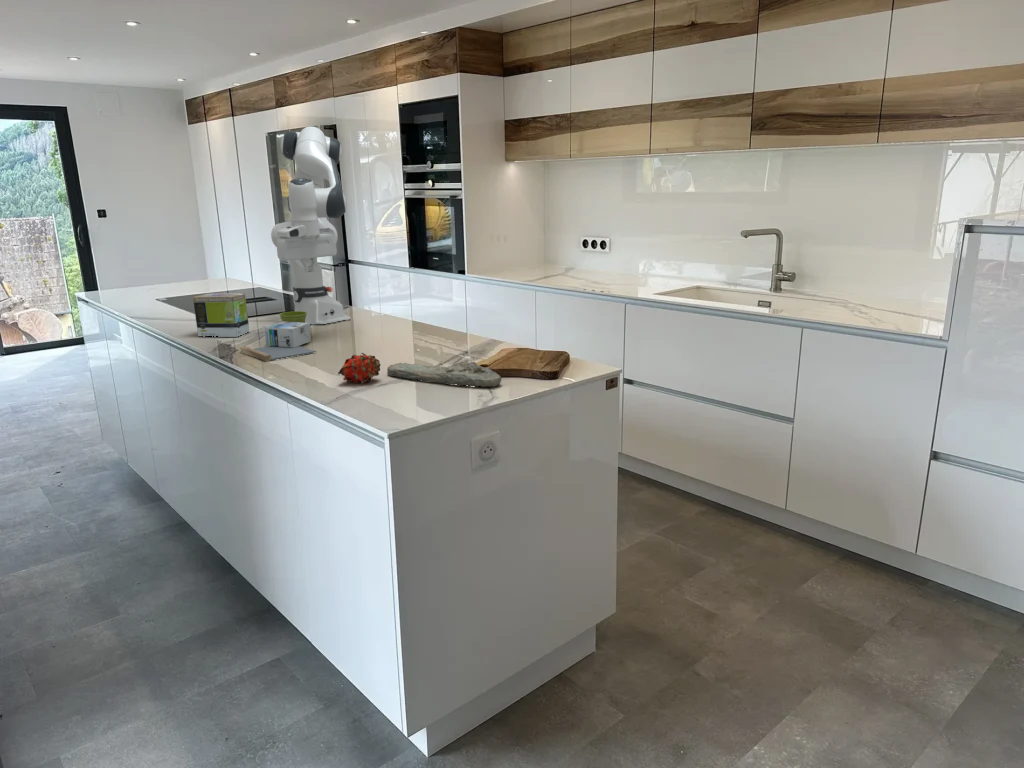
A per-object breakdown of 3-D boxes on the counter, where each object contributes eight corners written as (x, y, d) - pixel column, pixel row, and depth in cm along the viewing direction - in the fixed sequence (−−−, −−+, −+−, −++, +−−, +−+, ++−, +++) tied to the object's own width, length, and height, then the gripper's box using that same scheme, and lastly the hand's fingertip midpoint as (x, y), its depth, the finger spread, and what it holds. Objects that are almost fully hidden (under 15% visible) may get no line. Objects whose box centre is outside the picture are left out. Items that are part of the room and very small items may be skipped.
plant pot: (301, 340, 242) (299, 316, 240) (276, 339, 244) (274, 315, 241) (313, 335, 251) (311, 311, 248) (289, 334, 253) (287, 310, 250)
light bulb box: (293, 328, 225) (263, 326, 228) (294, 348, 227) (265, 346, 230) (310, 322, 235) (281, 320, 238) (311, 341, 237) (283, 339, 240)
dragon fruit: (385, 384, 191) (344, 397, 186) (373, 362, 195) (332, 374, 190) (387, 365, 185) (344, 377, 180) (375, 342, 189) (332, 354, 184)
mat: (289, 344, 235) (289, 342, 235) (316, 352, 223) (315, 351, 223) (246, 351, 225) (246, 349, 225) (271, 360, 213) (271, 358, 213)
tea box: (250, 332, 256) (246, 292, 252) (237, 338, 247) (232, 296, 243) (211, 332, 258) (206, 292, 254) (197, 337, 248) (191, 296, 244)
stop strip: (245, 351, 225) (245, 346, 225) (271, 360, 213) (270, 355, 212) (240, 352, 224) (240, 347, 223) (266, 361, 212) (265, 355, 211)
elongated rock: (400, 374, 202) (380, 384, 194) (397, 357, 201) (377, 366, 192) (508, 380, 187) (492, 392, 179) (507, 361, 186) (490, 372, 177)
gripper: (328, 227, 238) (332, 267, 242) (272, 231, 224) (277, 274, 229) (338, 228, 234) (341, 269, 238) (281, 232, 220) (286, 276, 224)
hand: (309, 271), depth 233 cm, fingers closed
